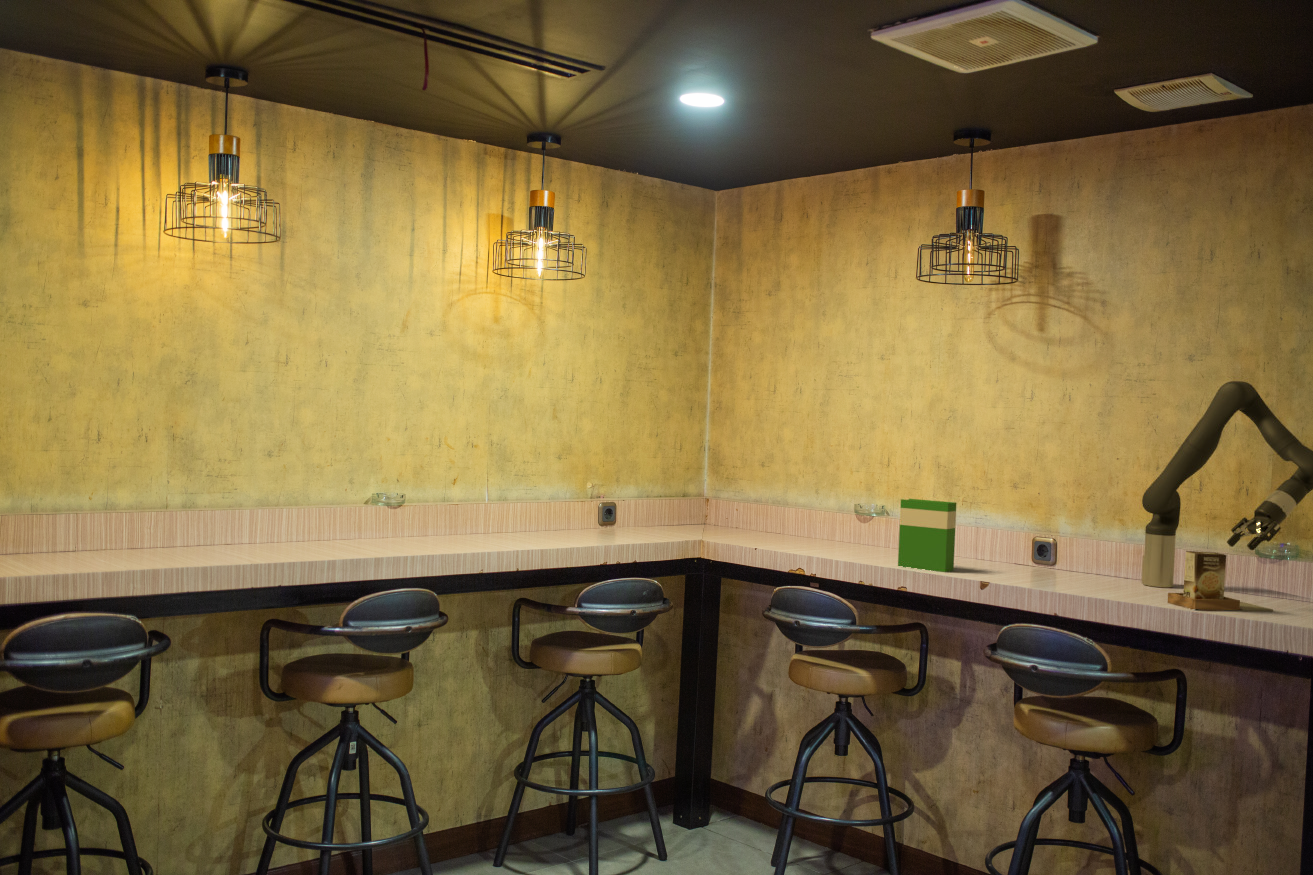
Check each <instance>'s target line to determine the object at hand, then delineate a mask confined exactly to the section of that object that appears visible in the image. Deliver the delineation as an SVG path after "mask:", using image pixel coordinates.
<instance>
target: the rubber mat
mask: <svg viewBox="0 0 1313 875" xmlns="http://www.w3.org/2000/svg"><path fill="white" fill-rule="evenodd" d="M1241 610H1242V612H1274V609H1273V608H1268V607H1264V606H1260V605H1257V604H1252V603H1249V602H1244V601H1240V610H1239V611H1241Z"/></svg>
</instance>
